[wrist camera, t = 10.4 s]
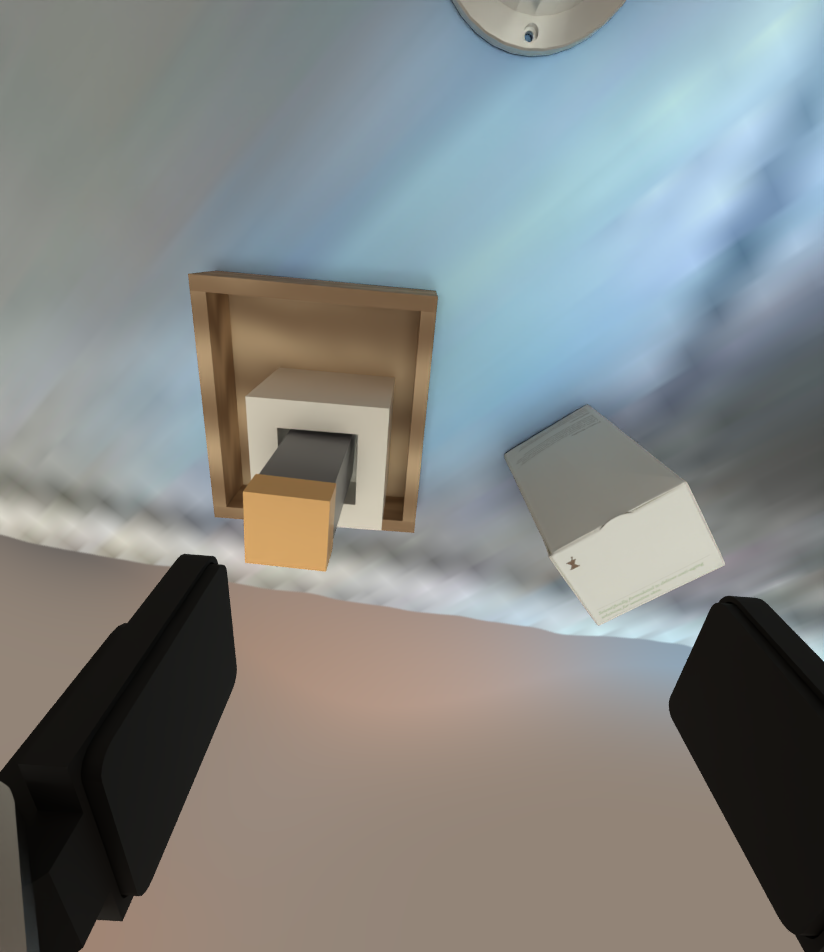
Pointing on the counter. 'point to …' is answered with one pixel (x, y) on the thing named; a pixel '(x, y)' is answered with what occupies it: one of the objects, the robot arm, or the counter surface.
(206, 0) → the counter surface
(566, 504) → the skincare box
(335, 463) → the square peg
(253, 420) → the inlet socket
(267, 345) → the crate
